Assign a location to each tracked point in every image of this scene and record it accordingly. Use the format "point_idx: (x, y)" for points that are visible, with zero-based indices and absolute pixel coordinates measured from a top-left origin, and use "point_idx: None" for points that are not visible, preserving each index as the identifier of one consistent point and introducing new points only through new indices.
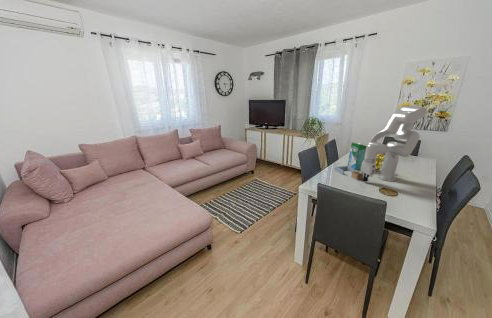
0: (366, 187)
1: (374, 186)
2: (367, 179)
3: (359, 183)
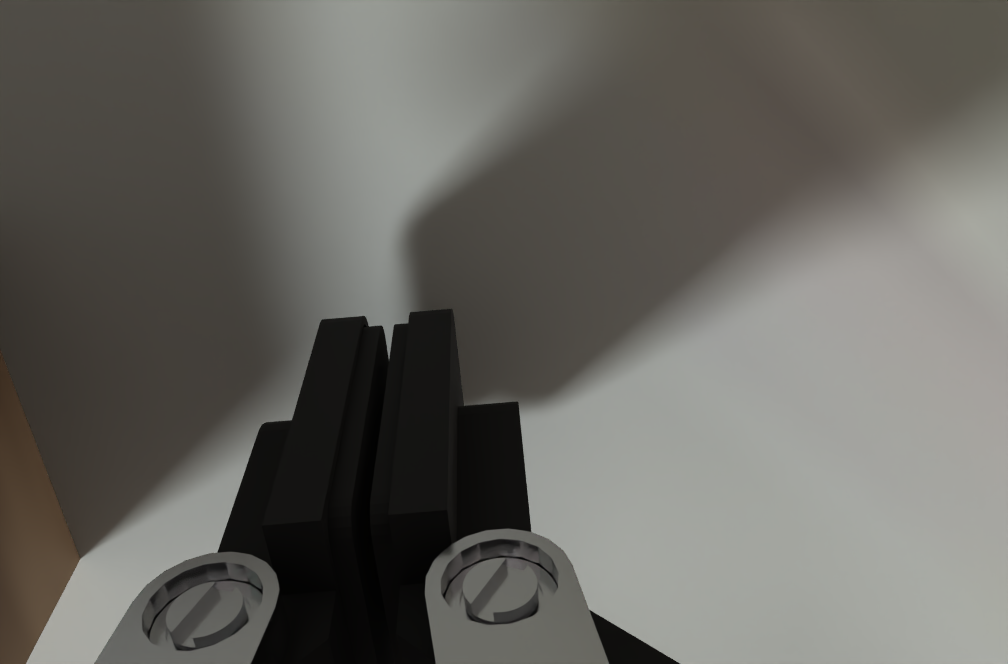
0: (905, 629)
1: (1000, 234)
2: (521, 460)
3: None
